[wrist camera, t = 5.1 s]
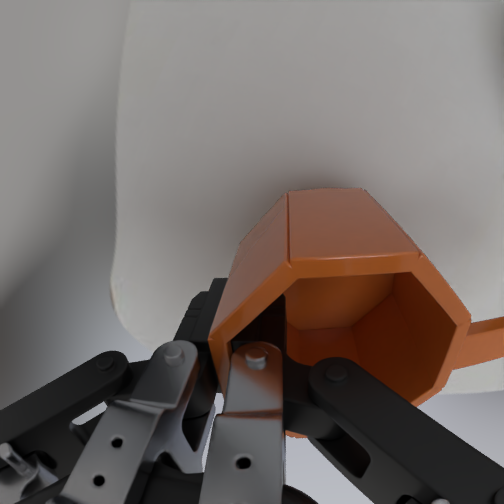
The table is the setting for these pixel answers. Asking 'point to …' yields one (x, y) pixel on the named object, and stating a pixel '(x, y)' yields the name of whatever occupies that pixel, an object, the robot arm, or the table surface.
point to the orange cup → (351, 295)
